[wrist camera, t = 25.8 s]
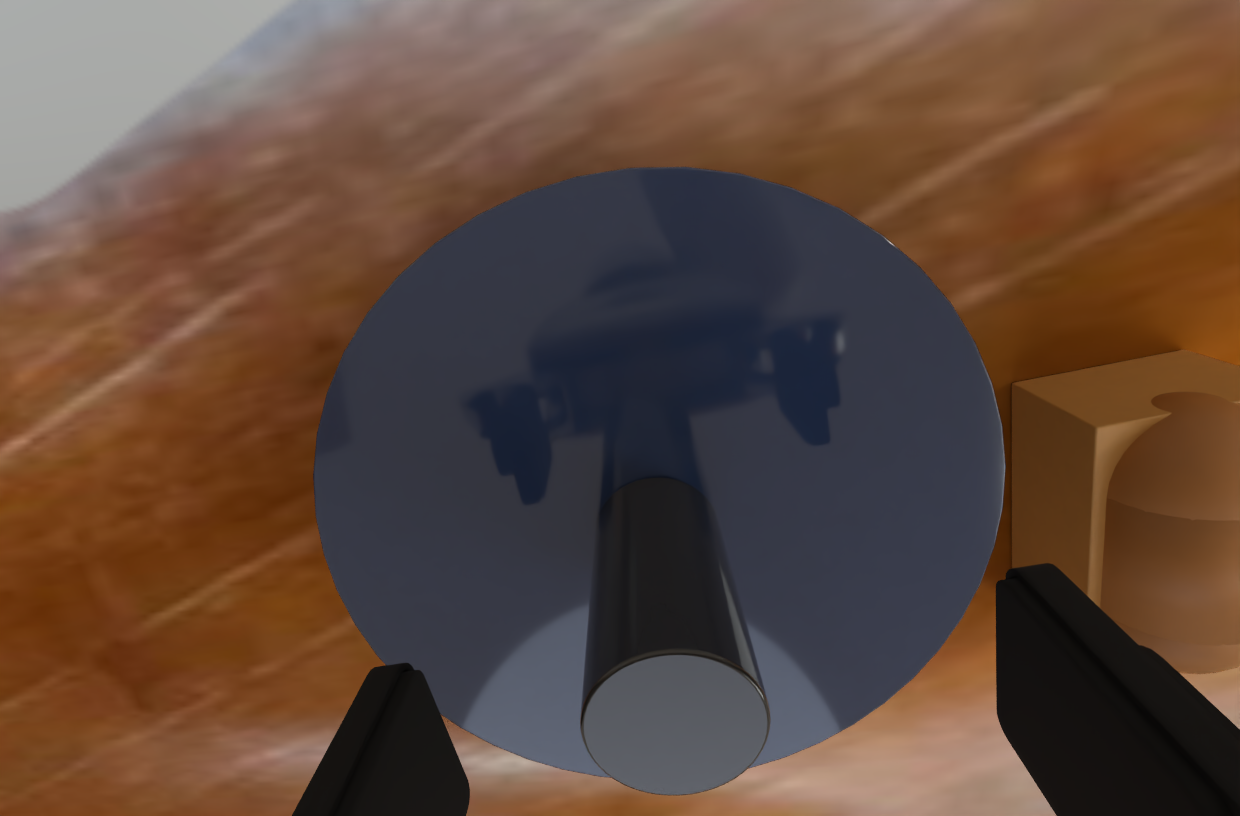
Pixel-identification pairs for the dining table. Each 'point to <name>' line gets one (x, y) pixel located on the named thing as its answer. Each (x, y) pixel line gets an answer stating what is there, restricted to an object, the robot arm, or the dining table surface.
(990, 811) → the dining table surface
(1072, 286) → the dining table surface
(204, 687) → the dining table surface
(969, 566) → the lid
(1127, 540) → the bread
